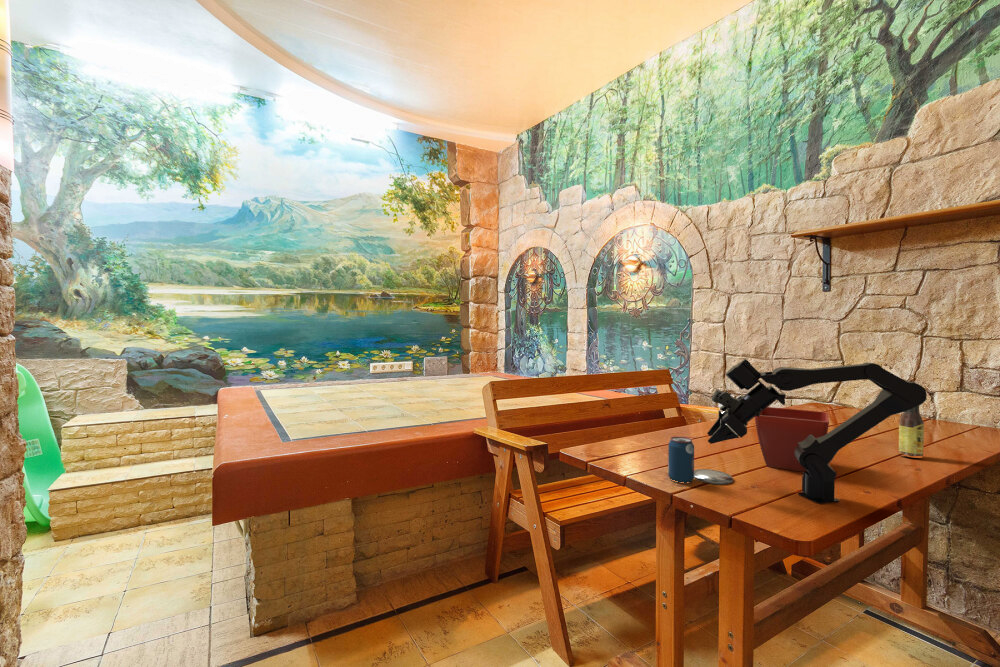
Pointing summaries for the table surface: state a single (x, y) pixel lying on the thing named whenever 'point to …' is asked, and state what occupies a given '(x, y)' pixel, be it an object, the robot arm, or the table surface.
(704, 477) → the silver metal disc
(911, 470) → the table surface
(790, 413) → the plant pot
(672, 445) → the soda can
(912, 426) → the sauce bottle
